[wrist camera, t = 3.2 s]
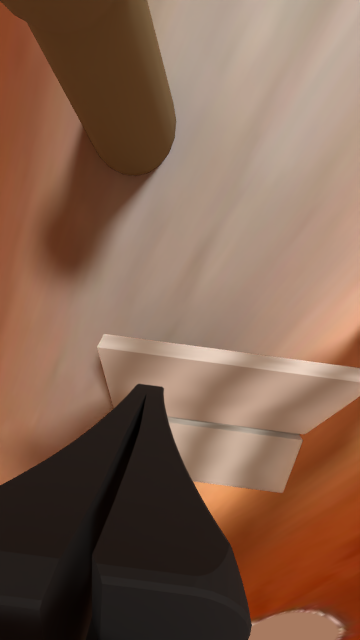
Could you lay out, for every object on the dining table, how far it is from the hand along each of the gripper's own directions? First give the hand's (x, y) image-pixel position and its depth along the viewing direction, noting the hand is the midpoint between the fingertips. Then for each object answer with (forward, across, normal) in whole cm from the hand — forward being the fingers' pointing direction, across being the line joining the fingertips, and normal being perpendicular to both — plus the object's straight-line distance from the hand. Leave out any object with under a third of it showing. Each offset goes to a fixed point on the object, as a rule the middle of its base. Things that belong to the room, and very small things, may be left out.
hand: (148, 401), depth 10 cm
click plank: (+6, -5, +2) cm, 8 cm away
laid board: (+8, -5, +11) cm, 14 cm away
